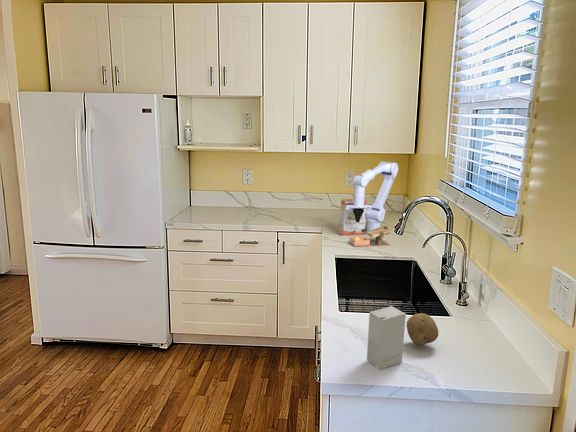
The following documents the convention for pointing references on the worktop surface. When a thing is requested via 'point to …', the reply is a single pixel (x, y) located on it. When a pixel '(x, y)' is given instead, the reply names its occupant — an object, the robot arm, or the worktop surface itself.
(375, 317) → the skincare box
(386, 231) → the lever
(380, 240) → the stand
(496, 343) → the worktop surface
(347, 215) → the cracker box
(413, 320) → the potato
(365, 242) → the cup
